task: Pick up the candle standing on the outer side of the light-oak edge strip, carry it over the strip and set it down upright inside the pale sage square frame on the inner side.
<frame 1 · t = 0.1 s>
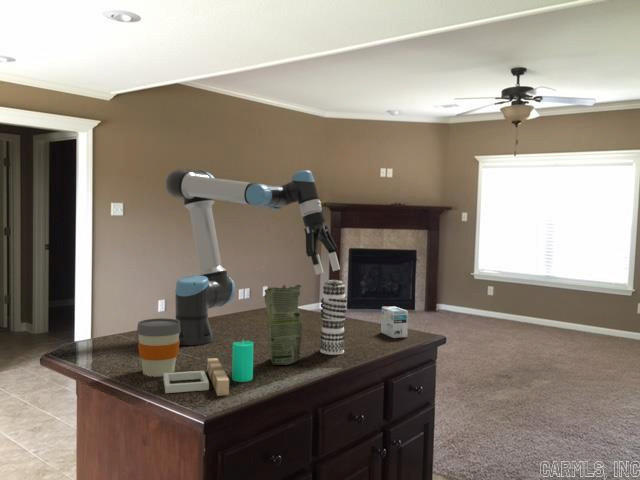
hand: (328, 272, 194), 28 cm above the counter, tool tilted 20°, fingers open, 13 cm apart
edge strip: (217, 382, 157), on the counter
pouch: (282, 361, 181), on the counter
reusable coffee cup: (158, 372, 166), on the counter
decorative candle: (332, 352, 195), on the counter
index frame: (185, 384, 154), on the counter
light bulb box: (393, 335, 223), on the counter
candle: (242, 379, 161), on the counter
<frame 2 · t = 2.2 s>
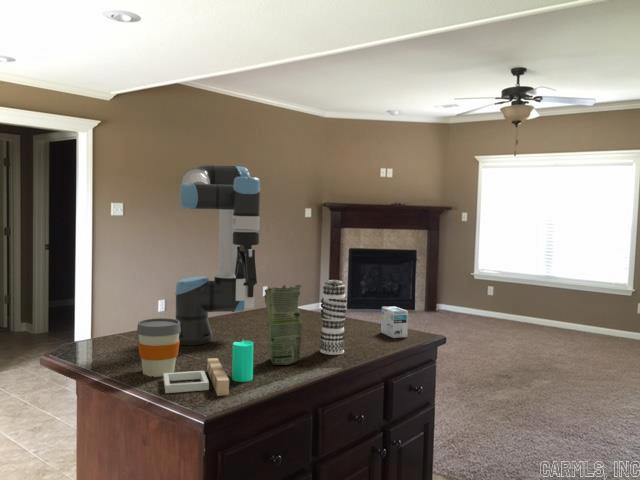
hand: (244, 304, 160), 22 cm above the counter, tool pointing down, fingers open, 13 cm apart
nothing on the counter moved.
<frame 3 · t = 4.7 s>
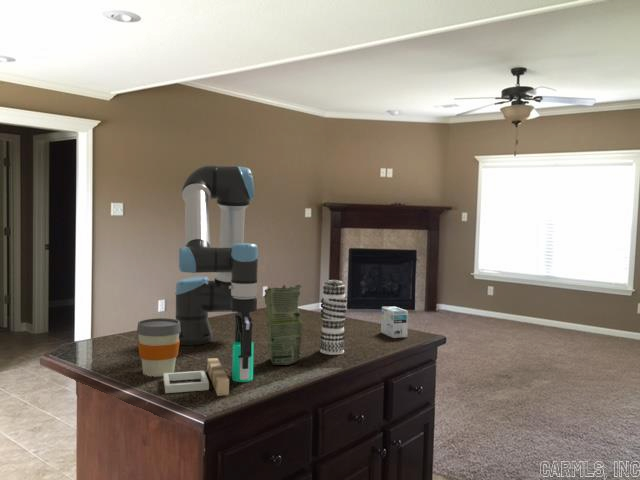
hand: (242, 375, 161), 1 cm above the counter, tool pointing down, fingers closed on candle, 5 cm apart
candle: (242, 379, 161), on the counter, touching gripper
everything else where it was.
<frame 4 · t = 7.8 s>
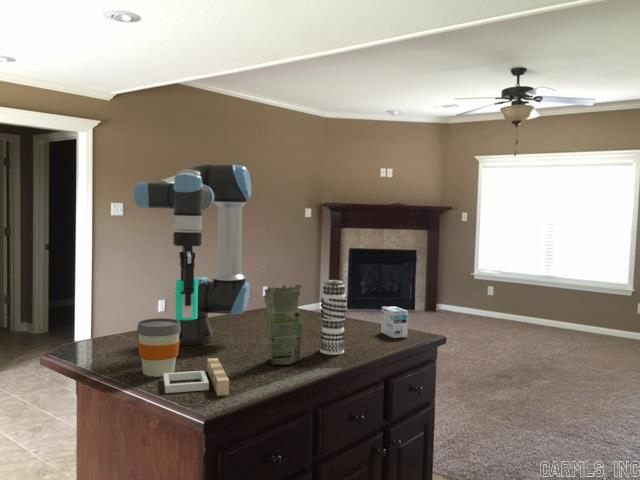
hand: (186, 315, 153), 20 cm above the counter, tool pointing down, fingers closed on candle, 5 cm apart
candle: (186, 318, 153), point 19 cm above the counter, touching gripper
everything else where it was.
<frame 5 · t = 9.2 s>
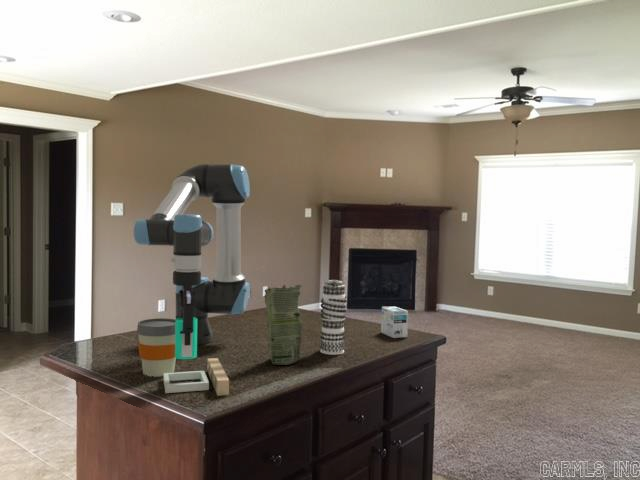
hand: (185, 353, 154), 9 cm above the counter, tool pointing down, fingers closed on candle, 5 cm apart
candle: (185, 357, 154), point 8 cm above the counter, touching gripper
everything else where it was.
when the fingers open (2 cm above the counter, at t = 10.6 s): candle drops 1 cm, resting in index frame.
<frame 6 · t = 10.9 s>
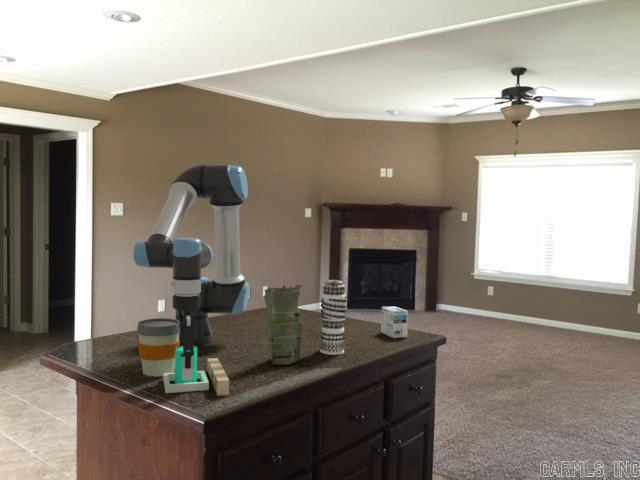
hand: (185, 373, 154), 3 cm above the counter, tool pointing down, fingers open, 9 cm apart
candle: (185, 385, 154), resting in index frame
everything else where it was.
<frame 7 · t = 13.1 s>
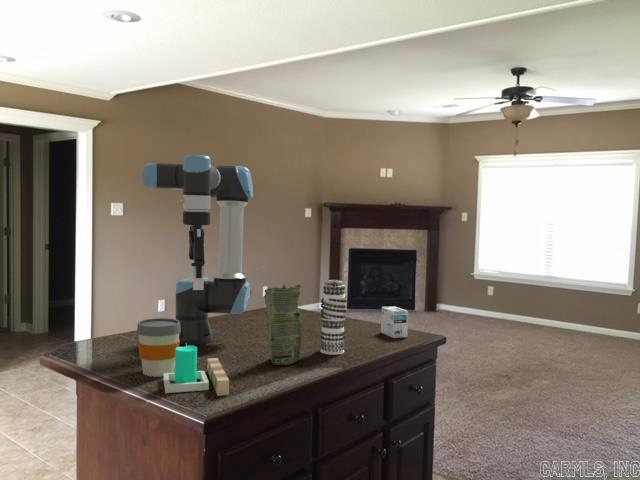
hand: (196, 285, 157), 27 cm above the counter, tool pointing down, fingers open, 13 cm apart
nothing on the counter moved.
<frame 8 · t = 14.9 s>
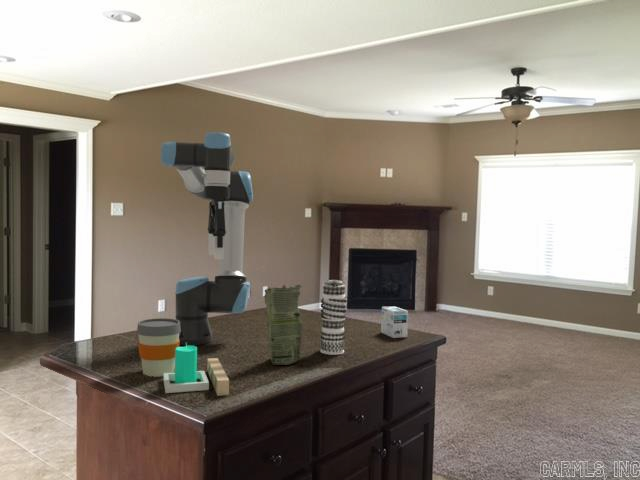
hand: (215, 257, 166), 35 cm above the counter, tool pointing down, fingers open, 13 cm apart
nothing on the counter moved.
at the end: candle 0.2 cm off-centre on the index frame, point 0.0 cm above the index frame's base; candle tilted 0°; the gripper is holding nothing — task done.
